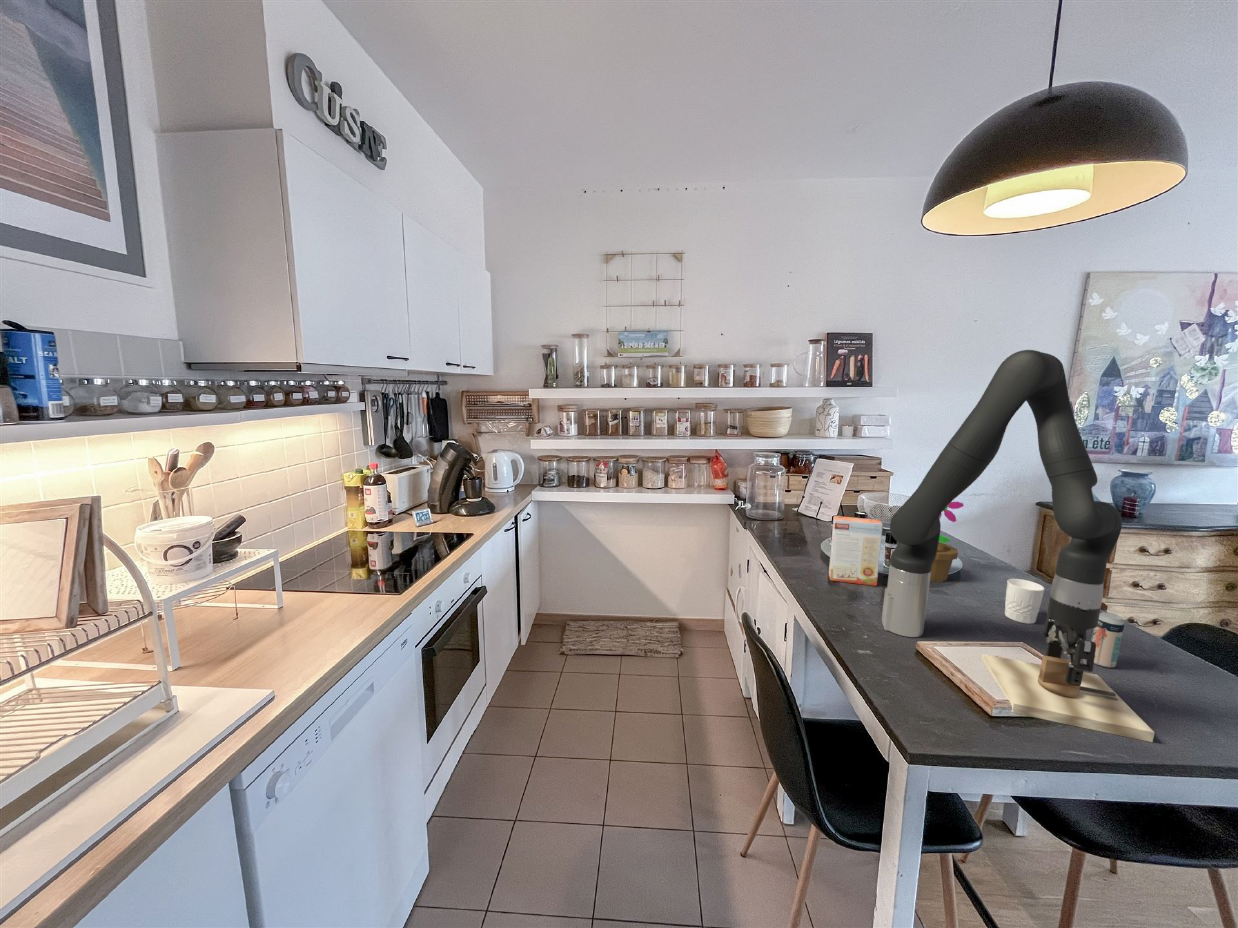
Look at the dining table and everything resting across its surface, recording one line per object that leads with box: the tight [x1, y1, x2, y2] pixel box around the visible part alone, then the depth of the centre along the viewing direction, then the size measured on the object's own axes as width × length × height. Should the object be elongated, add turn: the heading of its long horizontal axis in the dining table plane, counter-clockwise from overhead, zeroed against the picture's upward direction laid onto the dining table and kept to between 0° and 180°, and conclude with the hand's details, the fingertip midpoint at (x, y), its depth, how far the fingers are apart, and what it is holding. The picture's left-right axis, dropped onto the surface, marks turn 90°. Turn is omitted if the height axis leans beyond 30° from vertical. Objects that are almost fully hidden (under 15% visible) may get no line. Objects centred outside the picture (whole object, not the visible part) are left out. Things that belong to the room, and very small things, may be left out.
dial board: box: [981, 653, 1156, 743], centre depth 100 cm, size 21×19×2 cm
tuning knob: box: [1038, 655, 1117, 697], centre depth 99 cm, size 12×6×6 cm, turn 69°
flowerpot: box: [930, 501, 965, 583], centre depth 161 cm, size 14×14×30 cm
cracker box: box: [828, 515, 884, 587], centre depth 157 cm, size 14×6×21 cm, turn 71°
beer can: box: [1090, 611, 1126, 668], centre depth 112 cm, size 5×5×12 cm
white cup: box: [1004, 578, 1045, 625], centre depth 134 cm, size 8×8×10 cm
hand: (1062, 672), depth 100 cm, fingers open, 8 cm apart
